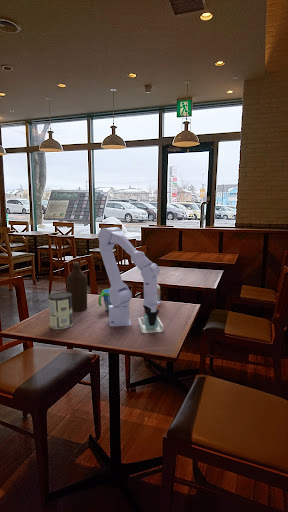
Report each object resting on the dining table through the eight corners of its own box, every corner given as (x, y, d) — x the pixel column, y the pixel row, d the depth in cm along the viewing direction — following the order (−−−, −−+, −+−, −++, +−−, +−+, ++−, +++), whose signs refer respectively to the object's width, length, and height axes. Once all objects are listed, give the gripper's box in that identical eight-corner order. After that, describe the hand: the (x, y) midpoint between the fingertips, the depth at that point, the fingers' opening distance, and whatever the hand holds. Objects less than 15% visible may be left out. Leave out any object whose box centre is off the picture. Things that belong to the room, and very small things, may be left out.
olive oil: (92, 309, 165) (90, 262, 161) (74, 313, 158) (72, 264, 154) (81, 304, 173) (79, 260, 169) (64, 309, 166) (61, 262, 162)
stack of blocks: (149, 301, 178) (149, 280, 176) (160, 301, 177) (160, 280, 176) (144, 313, 157) (143, 289, 155) (156, 313, 156) (156, 289, 155)
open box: (141, 334, 130) (141, 327, 130) (138, 324, 142) (138, 317, 141) (163, 332, 131) (163, 325, 131) (157, 322, 143) (157, 316, 143)
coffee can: (62, 319, 149) (61, 290, 147) (77, 323, 143) (76, 293, 141) (44, 326, 141) (43, 295, 139) (60, 331, 135) (58, 299, 133)
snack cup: (102, 314, 155) (102, 294, 154) (95, 309, 165) (94, 290, 163) (130, 309, 163) (130, 290, 162) (121, 304, 172) (121, 286, 171)
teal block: (146, 328, 132) (145, 317, 131) (144, 324, 137) (144, 313, 136) (157, 328, 133) (157, 316, 132) (155, 323, 137) (155, 312, 137)
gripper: (163, 296, 126) (163, 328, 128) (156, 287, 140) (156, 317, 142) (146, 297, 125) (146, 329, 127) (141, 288, 139) (141, 318, 141)
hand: (150, 323), depth 134 cm, fingers closed on teal block, 5 cm apart
